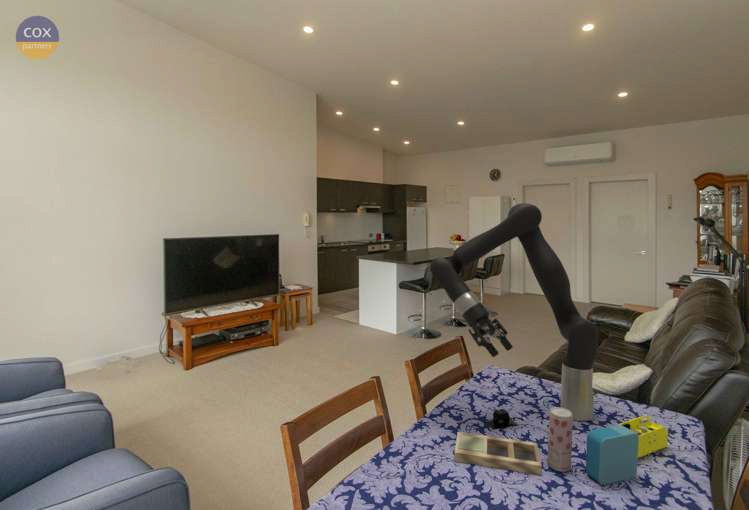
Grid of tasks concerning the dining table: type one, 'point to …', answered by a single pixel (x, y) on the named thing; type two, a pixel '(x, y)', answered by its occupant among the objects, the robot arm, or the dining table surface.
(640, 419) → the yellow toy chassis
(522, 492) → the dining table surface
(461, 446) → the board
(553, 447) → the beverage can
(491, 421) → the black open box
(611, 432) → the data package
